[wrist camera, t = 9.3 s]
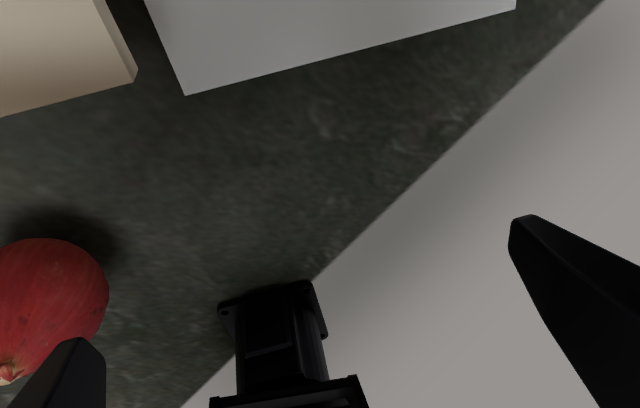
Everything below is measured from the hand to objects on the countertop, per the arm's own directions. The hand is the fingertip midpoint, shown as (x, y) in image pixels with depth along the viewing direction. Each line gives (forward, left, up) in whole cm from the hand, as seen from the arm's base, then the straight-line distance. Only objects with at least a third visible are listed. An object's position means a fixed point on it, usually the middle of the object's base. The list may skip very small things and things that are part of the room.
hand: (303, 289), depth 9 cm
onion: (-7, +13, -13) cm, 20 cm away
